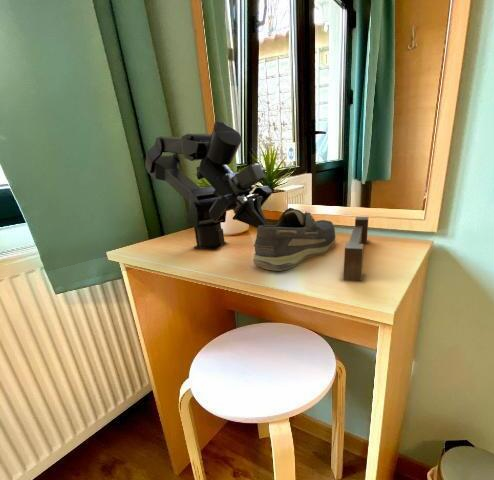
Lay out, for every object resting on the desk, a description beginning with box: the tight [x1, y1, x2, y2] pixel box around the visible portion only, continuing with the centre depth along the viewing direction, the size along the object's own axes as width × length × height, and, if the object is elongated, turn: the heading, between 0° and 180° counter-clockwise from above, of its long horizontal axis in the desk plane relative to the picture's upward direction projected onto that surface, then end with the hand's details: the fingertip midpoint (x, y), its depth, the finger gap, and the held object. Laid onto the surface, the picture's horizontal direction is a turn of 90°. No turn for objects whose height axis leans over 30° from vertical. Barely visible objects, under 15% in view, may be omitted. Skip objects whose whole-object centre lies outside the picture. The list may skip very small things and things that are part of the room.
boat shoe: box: [253, 207, 337, 272], centre depth 71 cm, size 11×29×11 cm, turn 148°
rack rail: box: [343, 216, 369, 282], centre depth 68 cm, size 3×28×6 cm, turn 164°
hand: (267, 229), depth 69 cm, fingers closed
